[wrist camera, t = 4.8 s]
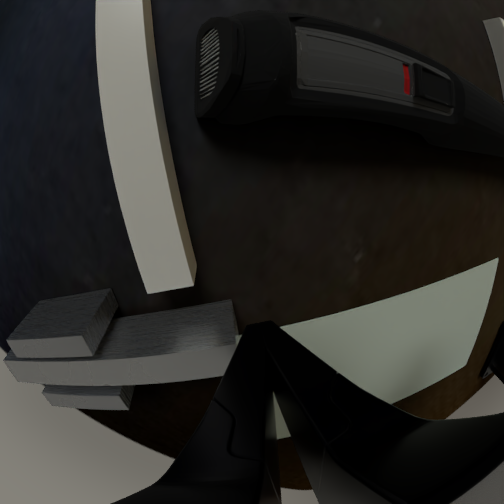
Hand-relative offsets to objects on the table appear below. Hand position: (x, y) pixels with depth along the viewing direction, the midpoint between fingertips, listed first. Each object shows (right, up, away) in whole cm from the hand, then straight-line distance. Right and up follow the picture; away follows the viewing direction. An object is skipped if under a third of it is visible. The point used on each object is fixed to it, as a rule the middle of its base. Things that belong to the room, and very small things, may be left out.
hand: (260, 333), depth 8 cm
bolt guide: (-7, -1, +2) cm, 7 cm away
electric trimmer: (+5, +9, 0) cm, 10 cm away
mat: (+7, -3, +4) cm, 9 cm away
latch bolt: (-6, -1, +2) cm, 6 cm away
